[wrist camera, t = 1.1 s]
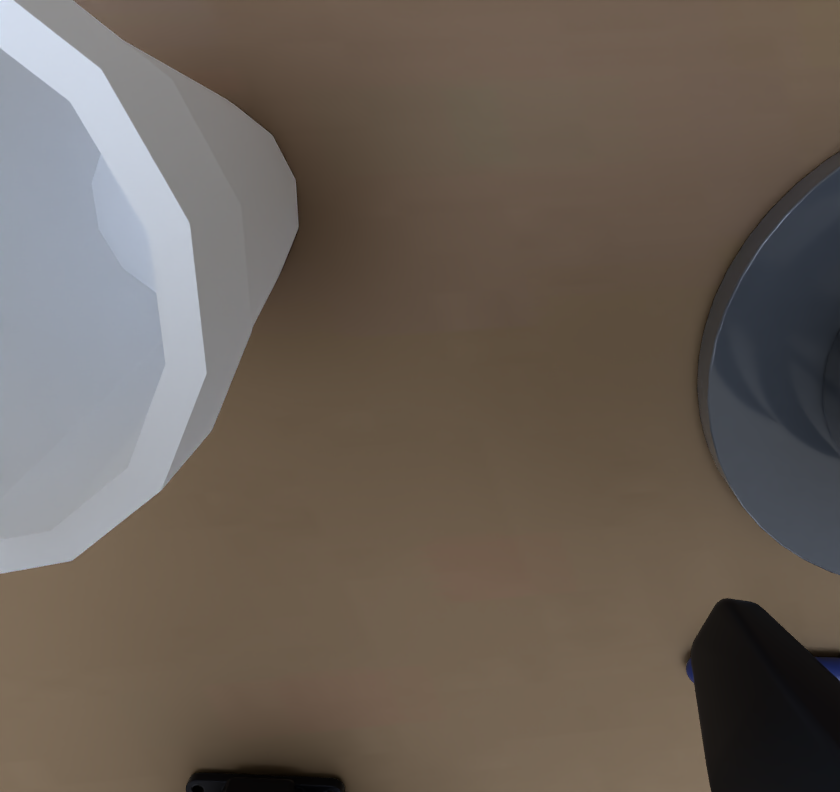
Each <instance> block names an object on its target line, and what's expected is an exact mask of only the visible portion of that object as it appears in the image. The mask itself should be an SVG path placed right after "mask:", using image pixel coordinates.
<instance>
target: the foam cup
mask: <svg viewBox="0 0 840 792" xmlns="http://www.w3.org/2000/svg"><path fill="white" fill-rule="evenodd" d="M298 228H299V223H298V207H297V191H296V179H295V177H294V176H293V174H292V172H291V170H290V168H289V166H288V164H287V162H286V160H285V158H284V156H283V154H282V152H281V151H280V149H279V147H278V145H277V143H276V141H275V139H274V137H273V135H272V134H270V133H269V132H268V131H267V130H265V129H264V128H263V127H262V126H260V125H259V124H258V123H257V122H255V121H254V120H253V119H252V118H250V117H249V116H248V115H247V114H246V113H244V112H243V111H242V110H241V109H239V108H238V107H237V106H236V105H234V104H233V103H231V102H230V101H228V100H227V99H225V98H224V97H222V96H220V95H218V94H217V93H215V92H213V91H211V90H210V89H208V88H206V87H204V86H203V85H201V84H199V83H197V82H196V81H194V80H192V79H190V78H189V77H187V76H185V75H183V74H182V73H180V72H178V71H176V70H175V69H173V68H171V67H169V66H168V65H166V64H164V63H162V62H161V61H159V60H157V59H155V58H154V57H152V56H150V55H148V54H147V53H145V52H143V51H141V50H140V49H138V48H136V47H134V46H133V45H131V44H129V43H127V42H126V41H124V40H122V39H121V38H120V37H118V36H117V35H116V34H115V33H113V32H112V31H111V30H110V29H108V28H107V27H106V26H105V25H103V24H102V23H101V22H100V21H98V20H97V19H96V18H95V17H93V16H92V15H91V14H89V13H88V12H87V11H86V10H84V9H83V8H82V7H81V6H79V5H78V4H77V3H76V2H74V1H73V0H0V574H1V573H7V572H12V571H18V570H24V569H29V568H35V567H41V566H46V565H52V564H57V563H63V562H69V561H72V560H74V559H75V558H76V557H77V556H79V555H80V554H81V553H82V552H84V551H85V550H86V549H88V548H89V547H90V546H91V545H93V544H94V543H95V542H96V541H98V540H99V539H100V538H101V537H103V536H104V535H105V534H107V533H108V532H109V531H110V530H112V529H113V528H114V527H115V526H117V525H118V524H119V523H121V522H122V521H123V520H124V519H126V518H127V517H128V516H129V515H131V514H132V513H133V512H134V511H136V510H137V509H138V508H140V507H141V506H142V505H143V504H145V503H146V502H147V501H148V500H150V499H151V498H152V497H153V496H155V495H156V494H157V493H159V492H160V491H161V490H162V489H163V488H164V487H165V485H166V484H167V483H168V482H169V481H170V480H171V478H172V477H173V476H174V475H175V474H176V472H177V471H178V470H179V469H180V468H181V467H182V465H183V464H184V463H185V462H186V461H187V459H188V458H189V457H190V456H191V455H192V454H193V452H194V451H195V450H196V449H197V448H198V446H199V445H200V444H201V443H202V442H203V441H204V439H205V438H206V437H207V436H208V435H209V433H210V432H211V431H212V429H213V426H214V424H215V421H216V419H217V417H218V414H219V412H220V409H221V407H222V404H223V402H224V399H225V397H226V394H227V392H228V389H229V387H230V384H231V382H232V379H233V377H234V374H235V372H236V369H237V367H238V364H239V362H240V359H241V357H242V354H243V352H244V349H245V347H246V345H247V342H248V340H249V337H250V335H251V332H252V328H253V326H254V324H255V322H256V320H257V318H258V316H259V314H260V312H261V310H262V308H263V306H264V304H265V302H266V300H267V298H268V296H269V294H270V292H271V291H272V289H273V287H274V285H275V283H276V281H277V279H278V277H279V275H280V273H281V270H282V268H283V265H284V263H285V260H286V258H287V255H288V253H289V250H290V248H291V246H292V243H293V241H294V238H295V236H296V233H297V231H298Z"/></svg>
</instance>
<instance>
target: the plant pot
mask: <svg viewBox="0 0 840 792" xmlns="http://www.w3.org/2000/svg"><path fill="white" fill-rule="evenodd" d="M697 392H698V401H699V411H700V419H701V423H702V427H703V431H704V434H705V438H706V442H707V445H708V448H709V450H710V452H711V455H712V457H713V459H714V462H715V464H716V466H717V469H718V470H719V472H720V473H721V475H722V477H723V478H724V480H725V481H726V483H727V485H728V486H729V488H730V489H731V491H732V492H733V494H734V495H735V497H736V498H737V500H738V501H739V502H740V504H741V505H742V507H743V508H744V509H745V510H746V511H747V512H748V514H749V515H750V516H751V517H752V518H753V519H754V521H755V522H756V523H757V524H758V525H759V526H760V527H761V528H762V529H763V530H764V531H765V532H766V533H768V534H769V535H770V536H771V537H772V538H773V539H774V540H776V541H777V542H778V543H779V544H780V545H782V546H783V547H785V548H786V549H788V550H790V551H791V552H793V553H794V554H796V555H797V556H799V557H800V558H802V559H804V560H806V561H808V562H810V563H812V564H814V565H816V566H819V567H821V568H823V569H825V570H827V571H829V572H832V573H835V574H838V575H840V152H839V153H837V154H836V155H834V156H832V157H831V158H829V159H828V160H826V161H825V162H824V163H822V164H821V165H820V166H819V167H817V168H816V169H815V170H814V171H812V172H811V173H810V174H808V175H807V176H806V177H805V178H803V179H802V180H801V181H800V182H798V183H797V184H796V185H795V186H794V187H793V188H792V189H791V190H790V191H789V192H788V193H787V194H786V195H785V196H784V197H783V198H782V199H781V200H780V201H779V202H778V203H777V204H776V205H775V206H774V207H773V208H772V209H771V210H770V211H769V212H768V213H767V215H766V216H765V217H764V218H763V220H762V221H761V222H760V223H759V225H758V226H757V227H756V228H755V230H754V231H753V232H752V233H751V235H750V236H749V237H748V238H747V240H746V241H745V243H744V245H743V246H742V248H741V249H740V251H739V253H738V254H737V256H736V257H735V259H734V260H733V262H732V264H731V265H730V267H729V268H728V270H727V273H726V275H725V277H724V279H723V281H722V283H721V285H720V288H719V290H718V292H717V294H716V296H715V298H714V301H713V304H712V307H711V310H710V313H709V316H708V319H707V322H706V325H705V329H704V333H703V338H702V344H701V349H700V355H699V360H698V384H697Z"/></svg>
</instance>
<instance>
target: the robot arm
mask: <svg viewBox="0 0 840 792" xmlns="http://www.w3.org/2000/svg"><path fill="white" fill-rule="evenodd" d="M691 665H692V672H693V679H694V685H695V692H696V699H697V706H698V712H699V719H700V726H701V732H702V739H703V746H704V752H705V759H706V766H707V771H708V777H709V782H710V788H711V792H840V681H839V680H838V679H837V678H836V677H835V676H834V675H833V674H832V673H831V672H830V671H829V670H828V669H827V668H826V667H825V666H823V665H822V664H821V663H820V662H819V661H818V660H817V659H816V658H815V657H814V656H813V655H812V654H811V653H810V652H809V651H808V650H806V649H805V648H804V647H803V646H802V645H801V644H800V643H799V642H798V641H797V640H796V639H795V638H794V637H793V636H792V635H791V634H789V633H788V632H787V631H786V630H785V629H784V628H783V627H782V626H781V625H780V624H779V623H778V622H777V621H776V620H775V619H774V618H772V617H771V616H770V615H769V614H768V613H767V612H766V611H765V610H764V609H763V608H762V607H760V606H759V605H758V604H756V603H753V602H749V601H742V600H735V599H728V598H726V599H722V600H720V601H719V602H717V604H716V605H715V606H714V608H713V610H712V611H711V613H710V615H709V616H708V618H707V620H706V621H705V623H704V625H703V626H702V628H701V630H700V631H699V633H698V635H697V636H696V638H695V640H694V642H693V645H692V649H691ZM331 791H334V792H345V787H344V784H343V783H342V782H341V781H340V780H338V779H335V778H321V777H296V776H271V775H247V774H222V773H195V774H193V775H192V776H191V777H190V779H189V781H188V783H187V786H186V792H331Z"/></svg>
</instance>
